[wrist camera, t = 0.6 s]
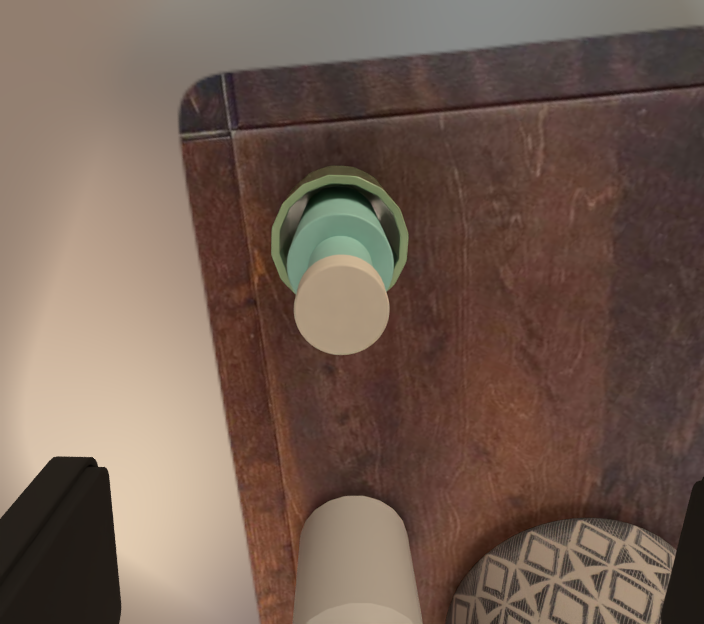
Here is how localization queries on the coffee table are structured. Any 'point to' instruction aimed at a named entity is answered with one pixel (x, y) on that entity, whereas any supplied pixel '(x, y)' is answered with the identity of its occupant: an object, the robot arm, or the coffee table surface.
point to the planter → (568, 577)
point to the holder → (331, 177)
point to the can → (355, 566)
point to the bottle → (340, 272)
